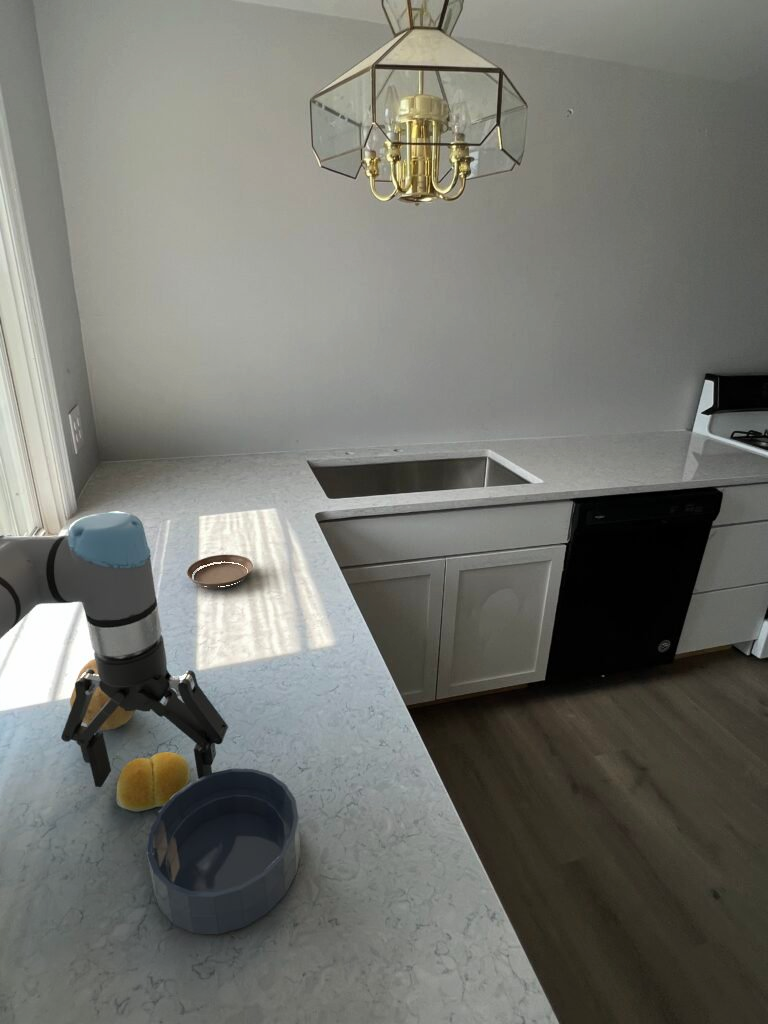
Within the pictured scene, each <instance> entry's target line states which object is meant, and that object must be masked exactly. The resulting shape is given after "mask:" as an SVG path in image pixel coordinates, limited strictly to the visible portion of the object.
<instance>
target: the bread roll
mask: <svg viewBox="0 0 768 1024" xmlns="http://www.w3.org/2000/svg"><path fill="white" fill-rule="evenodd" d="M190 779H191V770H190V765H189V763H188V762H187V760H186V759H185V758H184V756H182V755H181V754H178V753H175V752H170V751H161V752H159V753H156V754H154V755H152V756H150V757H138V758H135V759H132V760H130V761H129V762H128V763H126V764H125V766H124V767H123V768H122V769H121V771H120V773H119V776H118V778H117V782H116V783H117V784H116V792H115V793H116V795H115V799H116V804H117V806H118V807H120V808H122V809H124V810H128V811H132V812H136V813H137V812H144V811H148V810H151V809H154V808H159V807H160V808H161V807H164V806H165V805H166V803H167V802H168V801H169V800H170V799H171V798H172V796H174V795H175V794H176V793H177V792H179V791H180V790H181V789H183V788H184V787H186V786H187V785H188V784H189V781H190Z"/></svg>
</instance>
